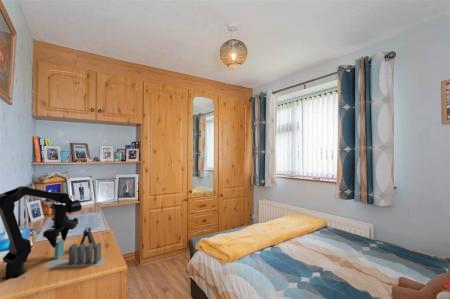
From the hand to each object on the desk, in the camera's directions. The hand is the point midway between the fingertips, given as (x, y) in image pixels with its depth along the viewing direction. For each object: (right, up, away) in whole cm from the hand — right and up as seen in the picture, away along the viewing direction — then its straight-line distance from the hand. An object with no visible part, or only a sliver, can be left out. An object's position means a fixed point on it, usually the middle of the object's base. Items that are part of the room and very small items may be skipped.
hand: (59, 243), depth 126 cm
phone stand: (+7, -8, +13) cm, 17 cm away
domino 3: (+15, -8, -5) cm, 18 cm away
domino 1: (0, -8, 0) cm, 8 cm away
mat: (+13, -8, -6) cm, 16 cm away
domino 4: (+19, -8, -5) cm, 21 cm away
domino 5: (+23, -8, -4) cm, 25 cm away
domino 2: (+11, -8, -6) cm, 15 cm away
